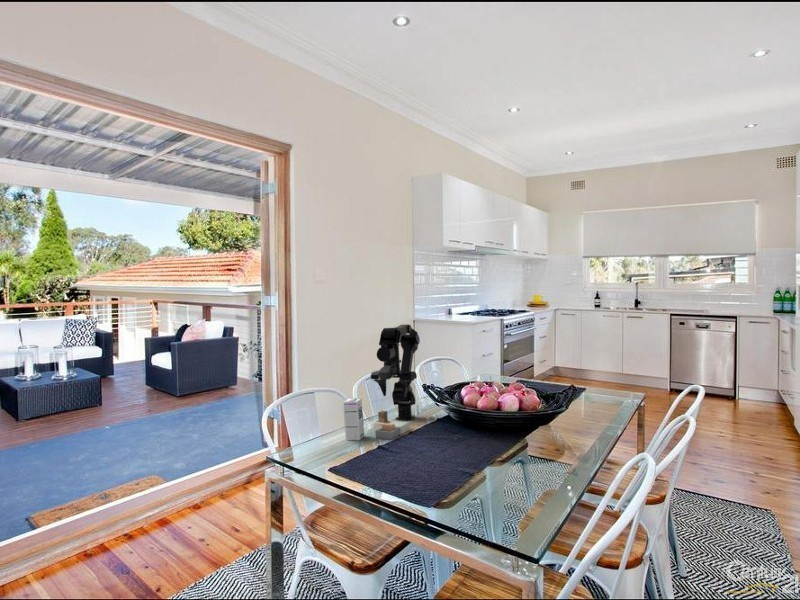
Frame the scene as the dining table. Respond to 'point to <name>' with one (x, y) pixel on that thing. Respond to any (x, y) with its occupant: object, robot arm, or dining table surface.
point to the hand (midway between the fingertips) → (394, 396)
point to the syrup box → (353, 419)
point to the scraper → (381, 419)
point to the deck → (401, 425)
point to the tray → (387, 434)
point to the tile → (388, 427)
